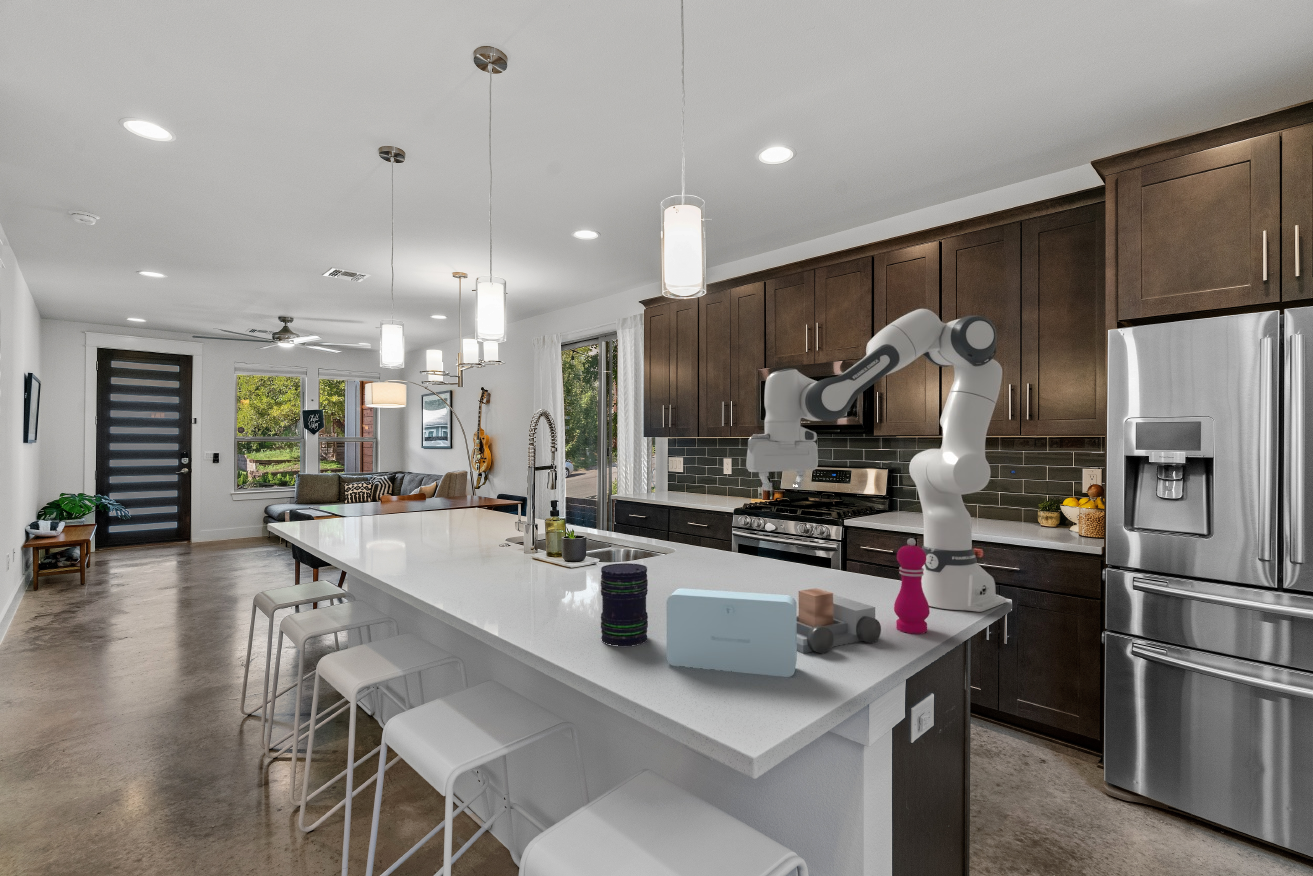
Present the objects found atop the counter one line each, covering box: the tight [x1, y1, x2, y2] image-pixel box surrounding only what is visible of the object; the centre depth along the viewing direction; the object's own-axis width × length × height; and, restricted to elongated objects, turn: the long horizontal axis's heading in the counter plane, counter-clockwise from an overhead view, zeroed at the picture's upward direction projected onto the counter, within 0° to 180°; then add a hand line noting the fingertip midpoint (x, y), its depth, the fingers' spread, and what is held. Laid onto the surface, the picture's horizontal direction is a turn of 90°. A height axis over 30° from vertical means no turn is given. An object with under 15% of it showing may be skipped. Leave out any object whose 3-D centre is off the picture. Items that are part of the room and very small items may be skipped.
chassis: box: [797, 593, 882, 655], centre depth 134 cm, size 20×17×6 cm
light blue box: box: [666, 587, 798, 678], centre depth 117 cm, size 23×6×13 cm, turn 74°
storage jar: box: [600, 562, 649, 647], centre depth 133 cm, size 10×10×15 cm
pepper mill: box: [893, 537, 930, 635], centre depth 139 cm, size 7×7×20 cm
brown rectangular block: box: [798, 587, 834, 627], centre depth 134 cm, size 5×5×8 cm
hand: (782, 489), depth 159 cm, fingers open, 8 cm apart
